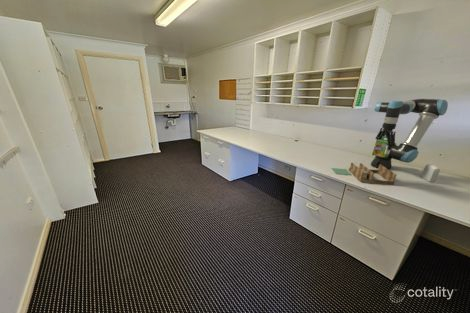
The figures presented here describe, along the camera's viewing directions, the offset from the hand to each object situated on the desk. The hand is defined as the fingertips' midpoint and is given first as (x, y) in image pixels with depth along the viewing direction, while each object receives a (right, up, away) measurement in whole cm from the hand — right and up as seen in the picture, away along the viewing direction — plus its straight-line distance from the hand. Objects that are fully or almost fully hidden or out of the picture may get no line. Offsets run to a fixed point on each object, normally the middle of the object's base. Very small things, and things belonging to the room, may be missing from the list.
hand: (381, 151), depth 140 cm
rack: (-3, -21, +8) cm, 23 cm away
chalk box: (0, -4, +1) cm, 4 cm away
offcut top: (-11, -18, +5) cm, 22 cm away
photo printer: (+41, -23, +5) cm, 47 cm away
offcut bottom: (-11, -22, +6) cm, 25 cm away
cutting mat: (-21, -17, +17) cm, 32 cm away
